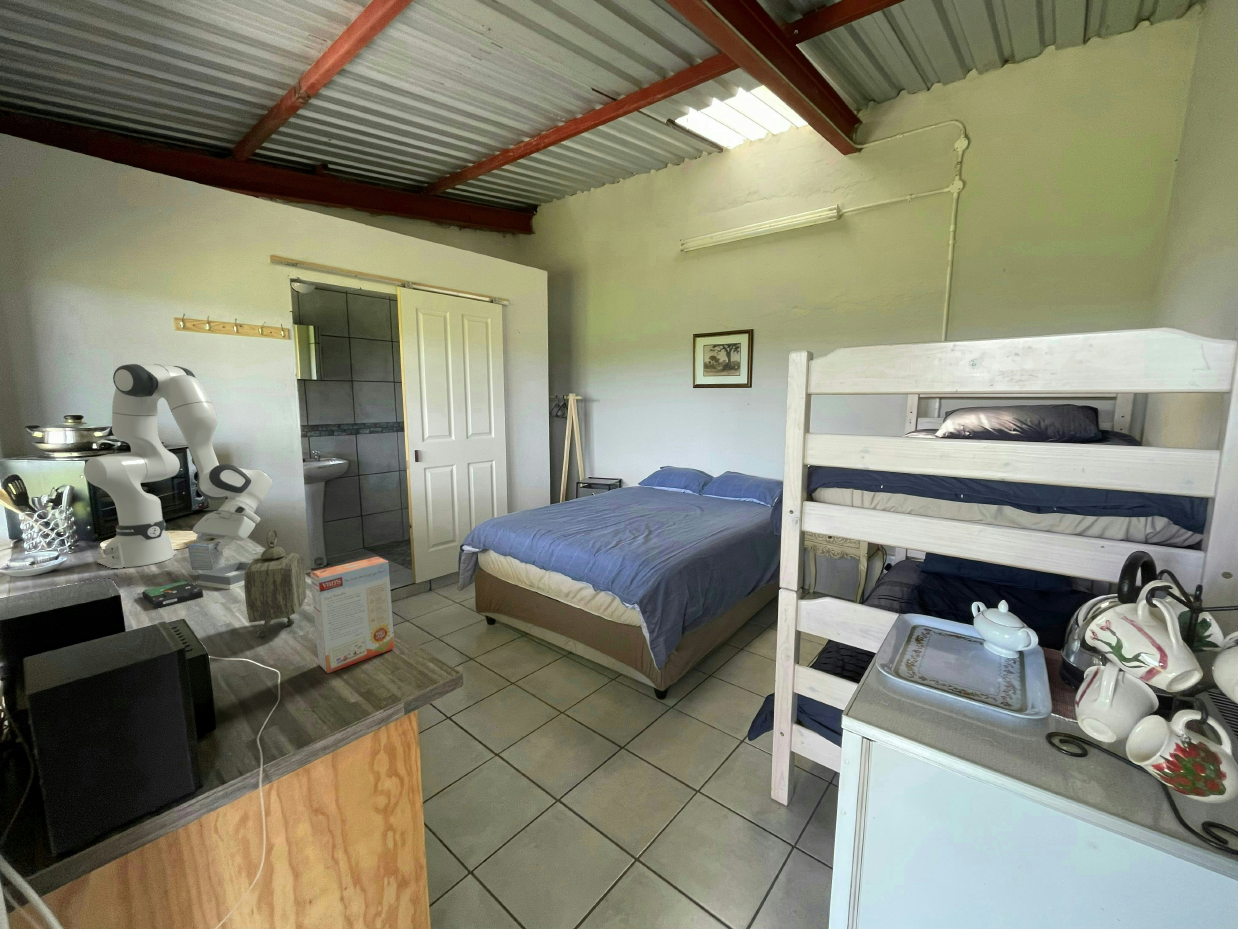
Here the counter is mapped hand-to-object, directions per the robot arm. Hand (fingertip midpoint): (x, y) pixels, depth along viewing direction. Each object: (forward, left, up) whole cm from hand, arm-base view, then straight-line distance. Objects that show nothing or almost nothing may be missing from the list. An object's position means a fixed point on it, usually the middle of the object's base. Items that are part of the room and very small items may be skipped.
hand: (206, 548), depth 157 cm
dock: (+12, 0, -9) cm, 15 cm away
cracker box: (+87, -29, -9) cm, 93 cm away
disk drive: (+10, -16, -10) cm, 21 cm away
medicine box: (0, 0, -7) cm, 7 cm away
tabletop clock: (+57, -22, -9) cm, 62 cm away
